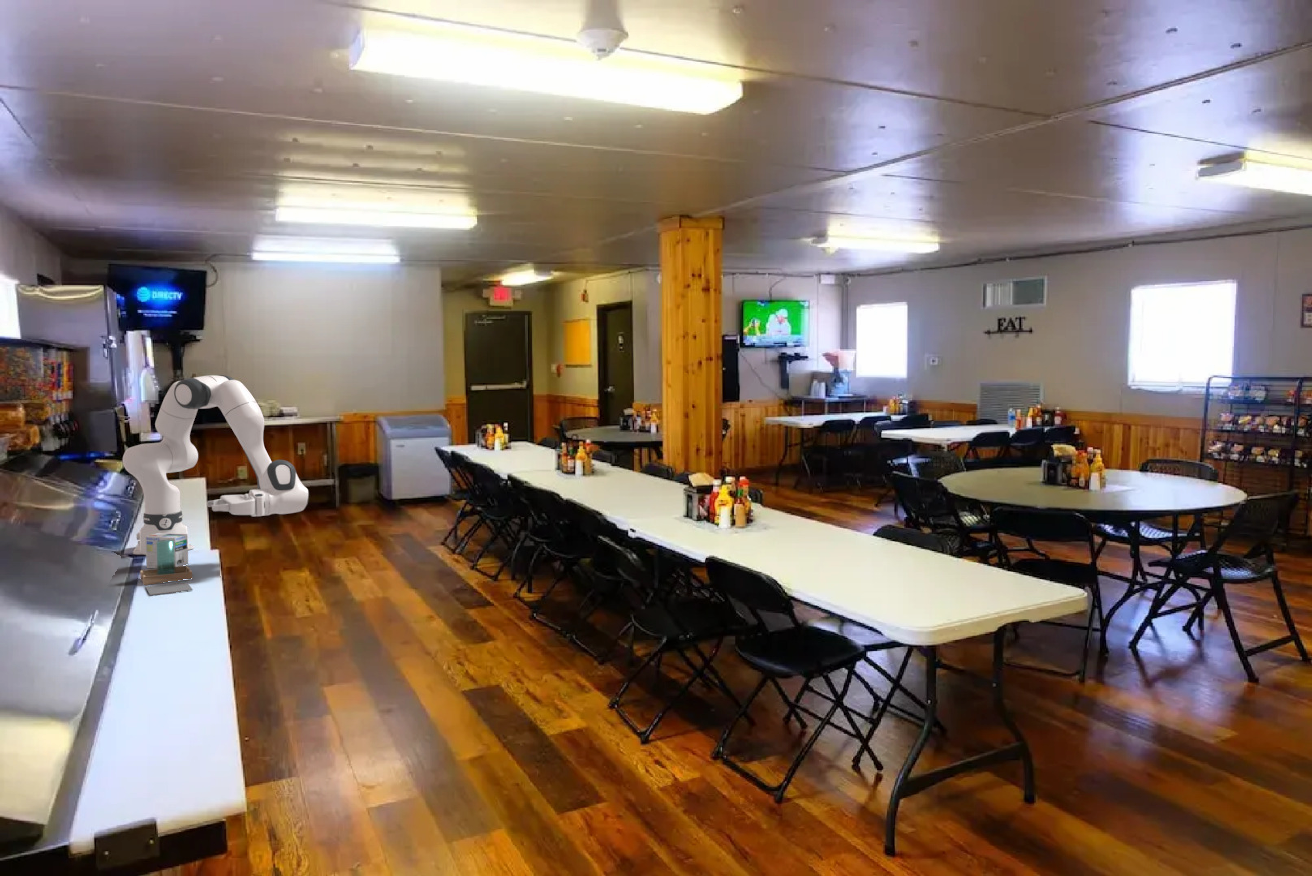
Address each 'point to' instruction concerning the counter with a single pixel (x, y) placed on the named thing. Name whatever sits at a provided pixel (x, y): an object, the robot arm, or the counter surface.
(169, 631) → the counter surface
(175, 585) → the rubber mat
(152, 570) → the wooden frame
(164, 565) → the teal translucent cylinder
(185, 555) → the light bulb box
